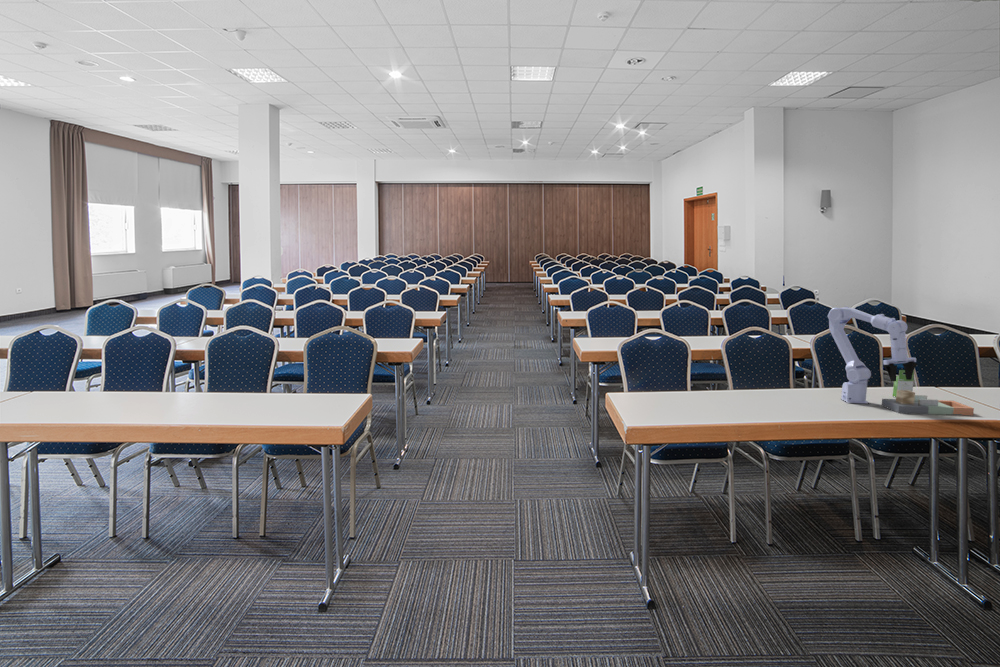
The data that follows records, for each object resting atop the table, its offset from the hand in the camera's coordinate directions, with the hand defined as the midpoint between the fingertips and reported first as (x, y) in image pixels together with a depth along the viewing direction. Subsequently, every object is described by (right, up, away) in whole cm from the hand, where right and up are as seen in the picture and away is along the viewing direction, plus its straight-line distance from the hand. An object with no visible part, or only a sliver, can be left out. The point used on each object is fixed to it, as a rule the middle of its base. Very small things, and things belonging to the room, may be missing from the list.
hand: (901, 380), depth 278 cm
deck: (+12, -13, +2) cm, 18 cm away
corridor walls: (+10, -10, +2) cm, 14 cm away
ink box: (+17, -10, +27) cm, 33 cm away
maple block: (+3, -10, +2) cm, 11 cm away
